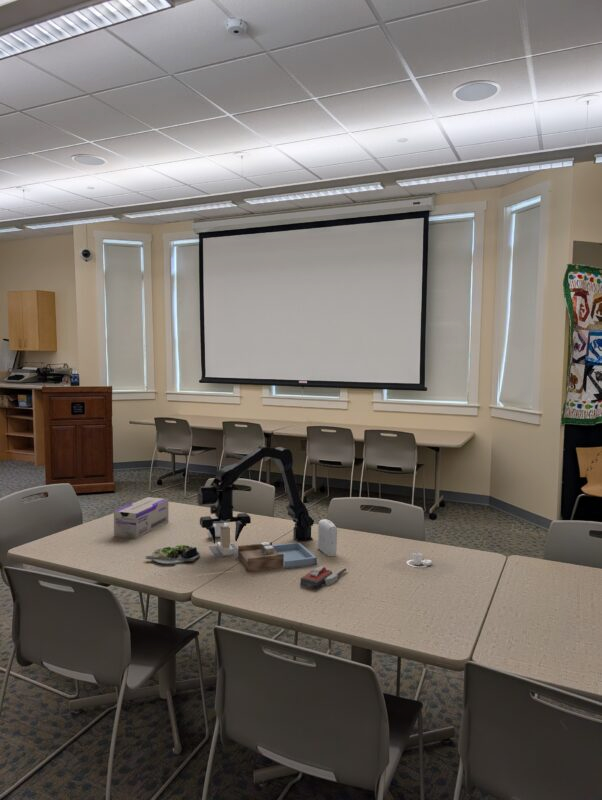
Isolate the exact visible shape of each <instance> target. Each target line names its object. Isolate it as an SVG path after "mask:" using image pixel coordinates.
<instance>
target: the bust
mask: <svg viewBox="0 0 602 800" xmlns="http://www.w3.org/2000/svg"><path fill="white" fill-rule="evenodd" d="M215 518H218V517H216V516H214V519H215ZM220 521H222V520H220ZM229 525H230V524H229V522H226V523H216V524H213V526H214V528H215V538H220V527H225V526H228V527H230V526H229ZM206 535H207V537H208V539H212V537H211V534H210V531H209V530H207V533H206Z"/></svg>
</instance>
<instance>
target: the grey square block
mask: <svg viewBox="0 0 602 800" xmlns="http://www.w3.org/2000/svg"><path fill="white" fill-rule="evenodd" d="M272 545H273V544H272ZM272 545H271V546H264V555H265V556H266V555H274V547H273V546H272Z"/></svg>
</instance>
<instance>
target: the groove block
mask: <svg viewBox="0 0 602 800" xmlns="http://www.w3.org/2000/svg"><path fill="white" fill-rule="evenodd" d="M269 543H270V546H271V545H273V542H269ZM237 549H238V555H237V557H238V559H239V560H240V561H241V563H242V564H243V566H245V569H246V570H247V572H252V571H253V572H254V571H261V570H268V569H276V568H277V569H278V568H284V554H279V553H278V552H277V551H276V550H275V549H274V555H266V556H265V555H264V553H262V552H261V551H260V543H253V544H244V545H238V546H237Z"/></svg>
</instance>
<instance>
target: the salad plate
mask: <svg viewBox="0 0 602 800" xmlns="http://www.w3.org/2000/svg"><path fill="white" fill-rule="evenodd" d="M200 555H201V554H200V552H199V551H198V548H197V546H193V545H188V544H187V545H186V544H180V545H176V546H168V547H167V546H165V547H160V548H157V549H155V550H153V552H152V556H151V555H148V556H145V559H146V560H150V561H154V562H155V563H158V564H160V565H161V564H162V565H167V566H171V565H176V564H186V563H192V562H195V561H197V560H199V558H200Z"/></svg>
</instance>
